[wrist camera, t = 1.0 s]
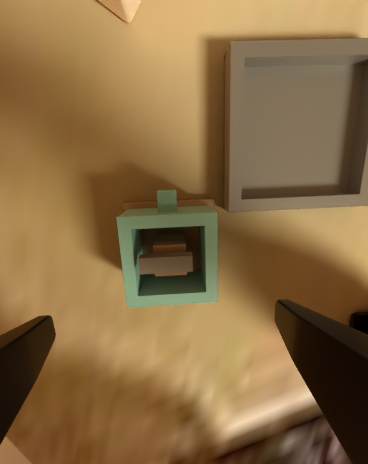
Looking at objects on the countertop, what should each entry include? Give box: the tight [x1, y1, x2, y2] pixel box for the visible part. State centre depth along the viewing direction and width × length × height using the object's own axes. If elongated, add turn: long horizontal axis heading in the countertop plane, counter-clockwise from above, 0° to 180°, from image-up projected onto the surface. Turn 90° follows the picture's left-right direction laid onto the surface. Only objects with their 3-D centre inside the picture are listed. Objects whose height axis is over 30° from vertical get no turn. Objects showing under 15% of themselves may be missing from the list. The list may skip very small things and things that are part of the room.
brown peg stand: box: [122, 199, 214, 276], centre depth 18 cm, size 8×8×5 cm
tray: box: [224, 38, 368, 212], centre depth 18 cm, size 12×12×2 cm
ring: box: [116, 189, 218, 308], centre depth 17 cm, size 9×7×4 cm
